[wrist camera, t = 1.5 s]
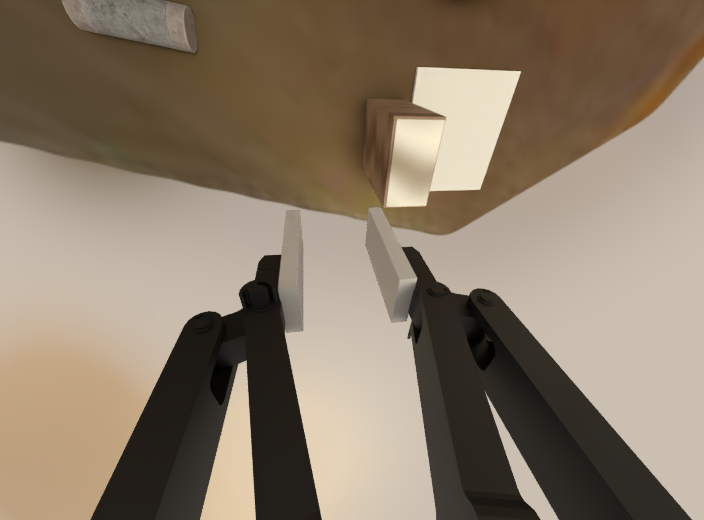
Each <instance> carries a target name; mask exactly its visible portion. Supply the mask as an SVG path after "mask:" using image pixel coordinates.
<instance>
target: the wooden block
mask: <svg viewBox="0 0 704 520" xmlns="http://www.w3.org/2000/svg"><path fill="white" fill-rule="evenodd" d="M445 121H446V117H445V116H443V115H440V114H438V113H435V112H433V111H431V110H428V109H426V108H423V107H421V106H418V105H416V104H414V103H411V102H409V101H406V100H401V99H367V105H366V121H365V138H364V154H363V170H364V172H365V174H366V176H367V178H368V180H369V182H370V183H371V185H372V187H373V189H374V191H375V193H376V195H377V197H378V198H379V200H380V202H381V204H382V206H383V208H386V207H415V206H426V205H427V200H428V196H429V191H430V187H431V183H432V178H433V174H434V169H435V165H436V161H437V156H438V152H439V147H440V143H441V139H442V134H443V130H444V125H445Z"/></svg>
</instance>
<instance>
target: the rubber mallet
mask: <svg viewBox="0 0 704 520" xmlns="http://www.w3.org/2000/svg"><path fill="white" fill-rule="evenodd" d="M62 3H63V5H64V8H65V10H66V12H67V14H68V15H69V17H70V19H71V20H72V21H73V22H74V24H75V25H76V26H77V27H78V28H80V29H81V30H84V31H89V32H94V33H99V34H104V35H109V36H113V37H118V38H123V39H128V40H133V41H138V42H143V43H148V44H153V45H158V46H162V47H167V48H172V49H177V50H182V51H187V52H192V53H195V52H196V50H197V39H196V31H195V24H194V17H193V14H192V11H191V9H190V8H189V7H188V6H186V5H182V4H178V3H174V2H169V1H165V0H62Z"/></svg>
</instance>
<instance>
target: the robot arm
mask: <svg viewBox="0 0 704 520" xmlns="http://www.w3.org/2000/svg"><path fill="white" fill-rule="evenodd" d="M366 248H367V251H368V254H369V257H370V260H371V263H372V266H373V269H374V272H375V275H376V278H377V281H378V284H379V287H380V290H381V293H382V296H383V299H384V302H385V305H386V308H387V311H388V314H389V317H390V320H391V322H402V321H407V318H408V314H409V315H410V317H411V319H412V322H411V325H410V329H409V333H408V339H410V336H411V337H412V344H413V351H414V358H415V365H416V372H417V379H418V386H419V393H420V401H421V407H422V414H423V422H424V429H425V436H426V442H427V450H428V457H429V463H430V471H431V478H432V486H433V492H434V499H435V507H436V520H540V518H539V517H538V515H537V513H536V512H535V510H534V509H532V508H531V507H530V506H529V505H528V504H527V503H526V502H525V501H524V500H523V499H522V497H521V495H520V493H519V490H518V488H517V485H516V482H515V479H514V476H513V473H512V470H511V467H510V464H509V461H508V459H507V456H506V453H505V450H504V447H503V444H502V441H501V438H500V435H499V432H498V429H497V426H496V423H495V420H494V417H493V414H492V412H491V408H490V405H489V403H488V400H487V397H486V394H487V396H488V397H489V399H490V401H491V402H492V404H493V406H494V408H495V409H496V411H497V413H498V415H499V416H500V418H501V420H502V421H503V423H504V425H505V427H506V429H507V430H508V432H509V433H510V435H511V437H512V439H513V440H514V442H515V444H516V446H517V448H518V449H519V451H520V453H521V455H522V456H523V458H524V459H525V462H526V463H527V465H528V467H529V468H530V470H531V471H532V474H533V475H534V477H535V479H536V481H537V482H538V484H539V486H540V488H541V489H542V491H543V492H544V494H545V496H546V498H547V500H548V501H549V503H550V505H551V507H552V508H553V510H554V512H555V513H556V515H557V517H558V519H559V520H692V519H691V518H690V517H689V516H688V515H687V514H686V512H685V511H684V510H683V509H682V508H681V506H680V505H679V504H678V503H677V502H676V501H675V500H674V498H673V497H672V496H671V495H670V494H669V493H668V492H667V490H666V489H665V488H664V487H663V486H662V485H661V484H660V482H659V481H658V480H657V479H656V478H655V476H654V475H653V474H652V473H651V472H650V471H649V469H648V468H647V467H646V466H645V465H644V464H643V462H642V461H641V460H640V459H639V458H638V457H637V456H636V454H635V453H634V452H633V451H632V450H631V449H630V447H629V446H628V445H627V444H626V443H625V442H624V440H623V439H622V438H621V437H620V436H619V435H618V434H617V433H616V431H615V430H614V429H613V428H612V427H611V425H610V424H609V423H608V422H607V421H606V420H605V418H604V417H603V416H602V415H601V414H600V413H599V412H598V410H597V409H596V408H595V407H594V406H593V405H592V403H591V402H590V401H589V400H588V399H587V398H586V396H585V395H584V394H583V393H582V392H581V391H580V390H579V388H578V387H577V386H576V385H575V384H574V383H573V381H572V380H571V379H570V378H569V377H568V376H567V374H565V372H564V371H563V370H562V369H561V368H560V366H559V365H558V364H557V363H556V362H555V361H554V359H553V358H552V357H551V356H550V355H549V354H548V353H547V351H546V350H545V349H544V348H543V347H542V346H541V344H540V343H539V342H538V341H537V340H536V339H535V338H534V336H533V335H532V334H531V333H530V332H529V330H528V329H527V328H526V327H525V326H524V325H523V324H522V323H521V321H520V320H519V319H518V318H517V317H516V316H515V314H514V313H513V312H512V311H511V310H510V308H509V307H508V306H507V305H506V304H505V303H504V302H503V300H502V299H501V298H500V297H499V296H498V295H496V294H495V293H493V292H491V291H490V290H486V289H475V290H473V291H472V292H471V293H470V295H469V296H467V295H461V294H455V293H451V291H450V290H449V288H448V287H446V286H445V285H444V284H442V283H439V282H437V281H436V280H435V278H434V276H433V275H432V273H431V271H430V270H429V268H428V266H427V265H426V263H425V261H424V260H423V258H422V256H421V255H420V253H419V252H418V251H417V250H416V249H414V248H413V247H401V246H400V244H399V242H398V240H397V238H396V236H395V234H394V232H393V230H392V228H391V226H390V225H389V223H388V221H387V219H386V217H385V215H384V213H383V211H382V209H381V207H380V208H369V209H368V221H367V234H366ZM239 297H240V300H241V303H242V306H243V309H241V310H239V311H237V312H235V313H232V314H229V315H226V316H223V317H221V315H220V314H218V313H216V312H210V311H208V312H203V313H200V314H198V315H195V316H194V317H192V318H191V319H190V320H188V322H187V323H186V324H185V326H184V328H183V330H182V332H181V334H180V336H179V338H178V340H177V342H176V344H175V346H174V348H173V350H172V352H171V354H170V356H169V358H168V360H167V363H166V365H165V367H164V369H163V371H162V373H161V375H160V377H159V379H158V381H157V383H156V385H155V387H154V389H153V391H152V394H151V396H150V398H149V400H148V402H147V404H146V406H145V408H144V410H143V412H142V414H141V416H140V418H139V421H138V422H137V425H136V427H135V429H134V431H133V433H132V435H131V437H130V439H129V441H128V443H127V445H126V447H125V449H124V451H123V454H122V456H121V458H120V460H119V462H118V464H117V466H116V468H115V470H114V472H113V474H112V476H111V478H110V480H109V482H108V485H107V487H106V489H105V491H104V493H103V495H102V497H101V499H100V501H99V503H98V505H97V507H96V509H95V511H94V513H93V516H92V518H91V520H200V517H201V513H202V509H203V505H204V500H205V496H206V492H207V488H208V484H209V480H210V476H211V472H212V468H213V464H214V460H215V456H216V452H217V448H218V444H219V440H220V436H221V432H222V428H223V423H224V419H225V415H226V411H227V407H228V403H229V399H230V395H231V391H232V387H233V383H234V379H235V374H236V371H237V367H238V364H239V363H241V362H244V361H246V360H247V375H248V392H249V409H250V426H251V443H252V459H253V477H254V494H255V510H256V520H322V519H321V514H320V508H319V503H318V498H317V494H316V489H315V484H314V479H313V474H312V469H311V464H310V459H309V454H308V449H307V444H306V439H305V434H304V429H303V424H302V419H301V414H300V409H299V404H298V399H297V394H296V389H295V384H294V379H293V374H292V369H291V364H290V359H289V354H288V349H287V344H286V339H285V329H286V333H289V332H298V331H303V241H302V230H301V219H300V210H291V211H286V220H285V229H284V237H283V247H282V255H267V256H264V257H263V258H262V259H261V260H260V261H259V263H258V268H257V272H256V277H255V280H254V281H250V282H248V283H247V284H245V285H244V286H243V287H242V288H241V289H240V292H239ZM484 390H485V391H484ZM485 392H486V394H485Z"/></svg>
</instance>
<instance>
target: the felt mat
mask: <svg viewBox="0 0 704 520" xmlns="http://www.w3.org/2000/svg"><path fill="white" fill-rule="evenodd" d="M520 73H521V71H500V70H477V69H454V68H431V67H416V73H415V80H414V86H413V93H412V100H411V103H414V104H416V105H418V106H421V107H423V108H426V109H428V110H431V111H433V112H435V113H438V114H440V115H443V116H445V117H446V121H445V125H444V130H443V134H442V139H441V143H440V147H439V152H438V156H437V161H436V165H435V169H434V174H433V178H432V183H431V187H430V191H447V190H480V188H481V185H482V182H483V179H484V176H485V174H486V171H487V168H488V165H489V162H490V159H491V156H492V153H493V151H494V148H495V145H496V142H497V139H498V136H499V133H500V131H501V128H502V125H503V122H504V119H505V116H506V113H507V110H508V108H509V105H510V102H511V99H512V96H513V93H514V90H515V88H516V85H517V82H518V79H519V76H520Z"/></svg>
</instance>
